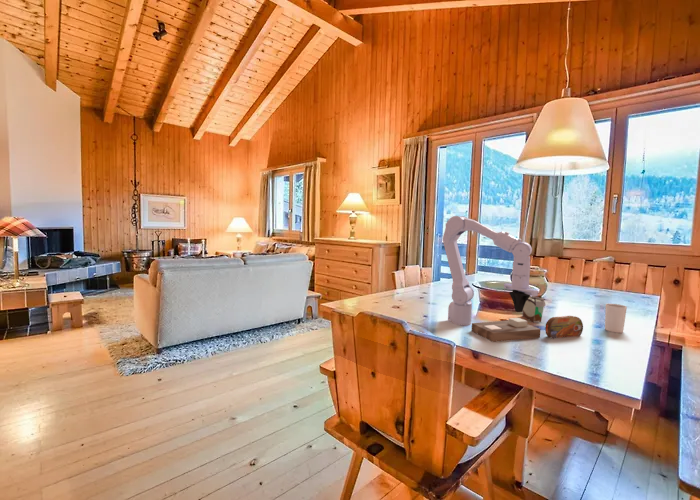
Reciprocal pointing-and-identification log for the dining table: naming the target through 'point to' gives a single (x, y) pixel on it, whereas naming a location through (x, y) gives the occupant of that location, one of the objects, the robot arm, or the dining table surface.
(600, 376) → the dining table surface
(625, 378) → the dining table surface
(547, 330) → the tin
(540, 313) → the food container
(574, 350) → the dining table surface
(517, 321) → the key back
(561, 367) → the dining table surface
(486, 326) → the pale pink block
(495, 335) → the panel
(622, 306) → the beige cup
